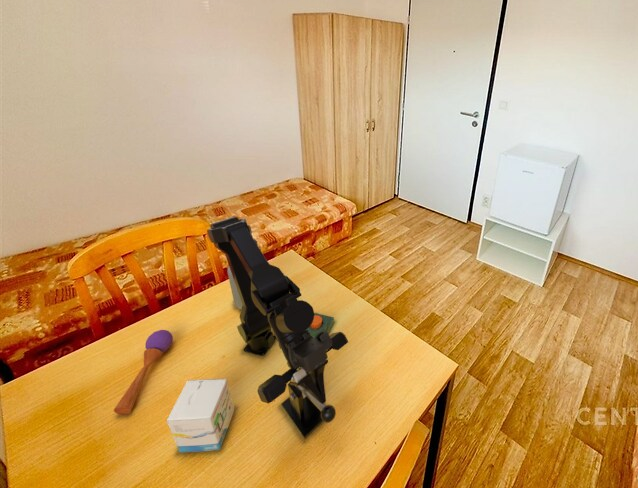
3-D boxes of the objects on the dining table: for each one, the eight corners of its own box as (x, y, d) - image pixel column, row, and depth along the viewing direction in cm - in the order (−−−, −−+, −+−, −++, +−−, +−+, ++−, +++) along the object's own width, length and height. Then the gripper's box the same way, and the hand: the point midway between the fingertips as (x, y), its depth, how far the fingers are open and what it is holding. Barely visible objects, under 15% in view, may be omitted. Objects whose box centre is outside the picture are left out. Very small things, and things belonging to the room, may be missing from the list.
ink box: (220, 450, 68) (210, 419, 63) (178, 453, 67) (164, 421, 62) (235, 408, 75) (227, 377, 70) (198, 410, 75) (186, 378, 69)
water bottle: (240, 288, 109) (227, 220, 97) (270, 288, 111) (260, 220, 98) (230, 312, 100) (213, 239, 88) (262, 311, 102) (250, 239, 89)
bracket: (330, 416, 75) (328, 387, 71) (304, 440, 71) (301, 411, 66) (307, 386, 81) (304, 358, 76) (281, 406, 76) (277, 378, 72)
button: (307, 327, 93) (307, 323, 92) (313, 318, 96) (312, 314, 95) (318, 330, 92) (318, 326, 91) (324, 320, 95) (324, 316, 95)
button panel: (291, 336, 94) (290, 327, 92) (304, 315, 101) (304, 306, 99) (322, 344, 92) (322, 335, 90) (334, 322, 100) (333, 313, 98)
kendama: (100, 407, 70) (148, 327, 87) (116, 419, 73) (159, 340, 90) (128, 401, 71) (170, 323, 88) (143, 413, 74) (180, 336, 91)
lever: (339, 417, 66) (337, 406, 65) (327, 429, 63) (324, 418, 63) (307, 385, 74) (304, 375, 74) (295, 394, 72) (292, 384, 71)
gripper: (256, 361, 55) (295, 448, 53) (342, 304, 67) (376, 372, 66) (243, 361, 63) (276, 437, 61) (322, 310, 76) (352, 371, 74)
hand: (323, 402), depth 65 cm, fingers closed
